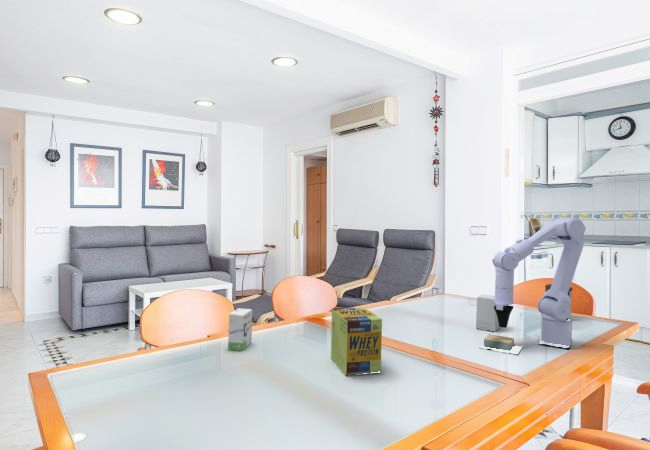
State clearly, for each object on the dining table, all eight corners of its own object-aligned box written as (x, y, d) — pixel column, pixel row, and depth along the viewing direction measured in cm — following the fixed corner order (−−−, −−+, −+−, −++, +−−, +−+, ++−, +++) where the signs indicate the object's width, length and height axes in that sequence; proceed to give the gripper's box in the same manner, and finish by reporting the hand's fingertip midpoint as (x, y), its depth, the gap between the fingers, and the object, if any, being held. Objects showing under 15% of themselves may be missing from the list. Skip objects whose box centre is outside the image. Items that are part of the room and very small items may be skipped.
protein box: (346, 377, 119) (347, 320, 118) (330, 358, 134) (331, 307, 133) (381, 373, 122) (383, 318, 121) (362, 355, 136) (363, 306, 136)
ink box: (237, 342, 148) (238, 307, 147) (252, 343, 147) (252, 308, 146) (227, 350, 139) (227, 313, 139) (242, 351, 138) (242, 314, 138)
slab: (514, 338, 146) (510, 343, 140) (513, 347, 146) (509, 352, 140) (489, 334, 150) (484, 339, 144) (488, 342, 150) (484, 348, 144)
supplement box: (495, 332, 165) (496, 299, 164) (475, 329, 169) (476, 296, 168) (500, 328, 170) (501, 296, 170) (481, 325, 175) (482, 293, 174)
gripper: (496, 283, 156) (495, 320, 156) (487, 289, 144) (485, 330, 144) (517, 285, 152) (516, 324, 153) (509, 291, 140) (508, 333, 140)
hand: (502, 327), depth 148 cm, fingers closed
